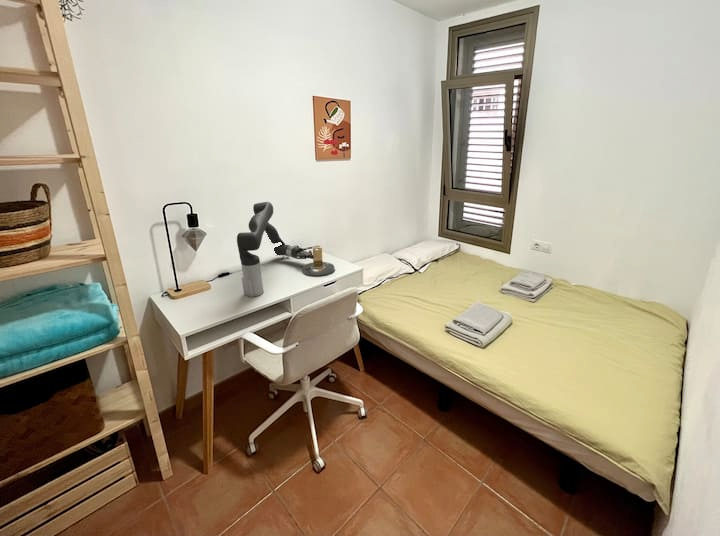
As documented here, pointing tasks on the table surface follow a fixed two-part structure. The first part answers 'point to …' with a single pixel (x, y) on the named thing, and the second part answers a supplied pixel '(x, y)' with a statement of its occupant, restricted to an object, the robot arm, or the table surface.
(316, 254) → the brown jar
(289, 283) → the table surface
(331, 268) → the platter
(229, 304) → the table surface
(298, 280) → the table surface
